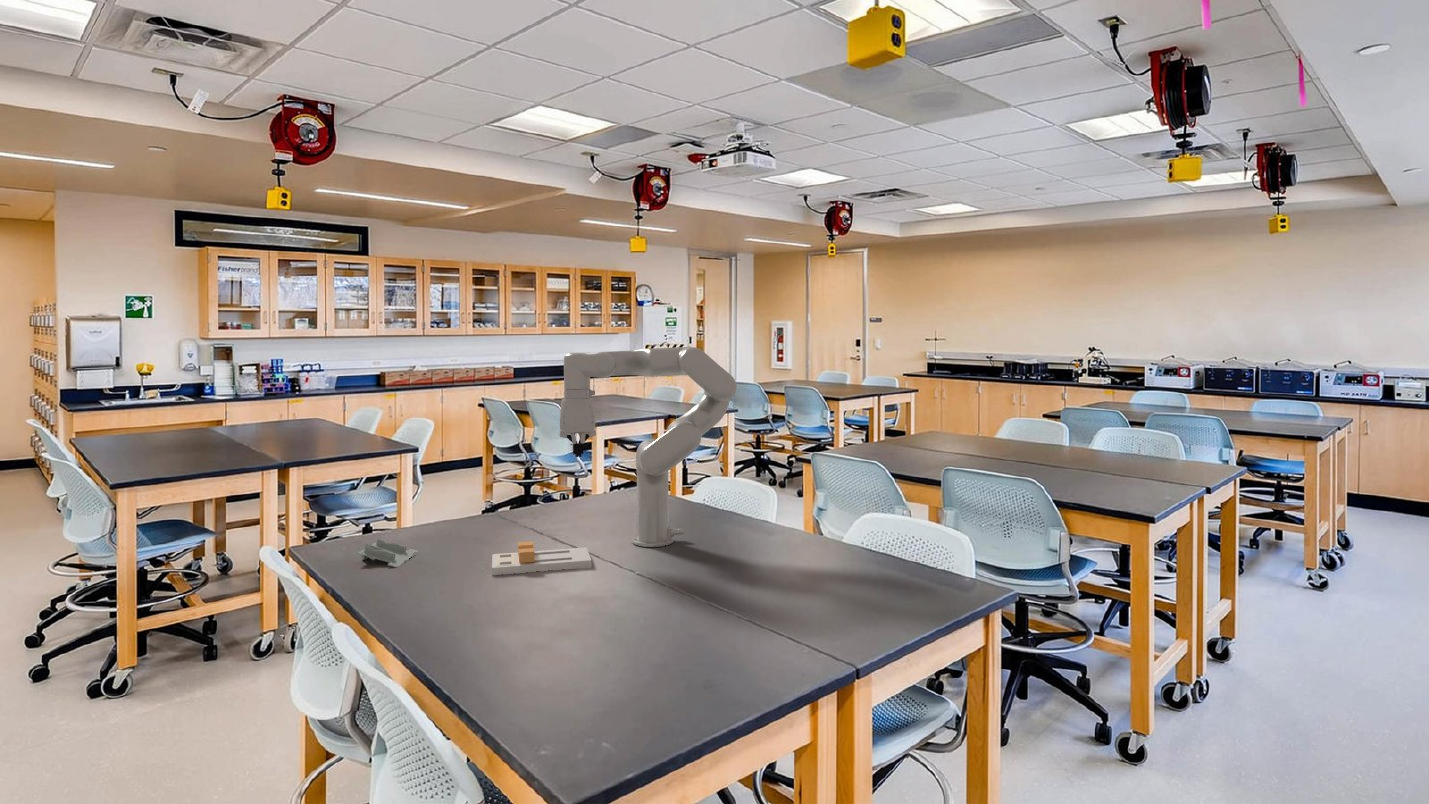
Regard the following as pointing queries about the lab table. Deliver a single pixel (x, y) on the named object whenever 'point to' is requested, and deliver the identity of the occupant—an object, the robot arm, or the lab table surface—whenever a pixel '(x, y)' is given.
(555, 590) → the lab table surface
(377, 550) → the metal bracket
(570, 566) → the switch panel
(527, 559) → the switch tab
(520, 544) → the switch tab
